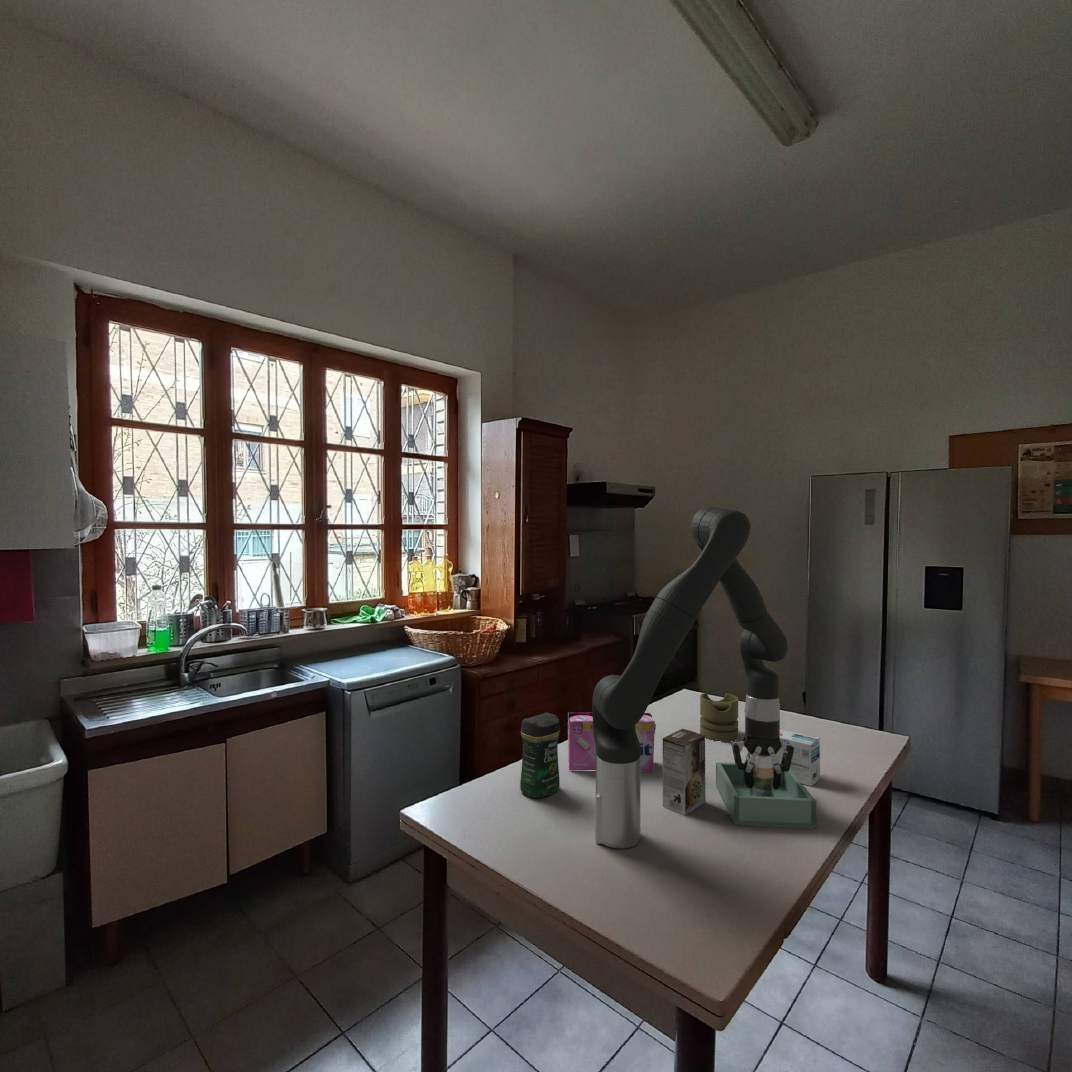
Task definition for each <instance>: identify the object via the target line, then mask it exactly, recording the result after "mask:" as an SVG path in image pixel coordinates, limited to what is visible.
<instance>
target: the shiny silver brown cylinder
mask: <svg viewBox="0 0 1072 1072" xmlns="http://www.w3.org/2000/svg"><path fill="white" fill-rule="evenodd" d="M751 756H752V755H751V754H750V758H751ZM751 773H752V788H750V796H763V797H774V765H773V756H770V755H759V756H756V755H755V764H753V768H752V770H751Z"/></svg>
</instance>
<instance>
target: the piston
mask: <svg viewBox="0 0 1072 1072" xmlns="http://www.w3.org/2000/svg"><path fill="white" fill-rule="evenodd" d="M699 700H700V701H699V703H700V704H699V707H700V708H699V710H700V711H699V712H700V713H699V714H700V717H699V728H700V729H699V734H702V735H705V738H706V739H705V740H707V739H709V740H708V741H711V740H713V741H712V742H716V741H721V742H720V743H731V742H730V741H735V740H736V741H737V740H738V739H739V720H738V719H739V697H738V696H737V695H734V694H731V693H727V692H726V693H725V695H724V696H723V698H722V699H720V700H713V699H711V698H710V697H709V695H708V692H703V693H701V694H700V695H699Z"/></svg>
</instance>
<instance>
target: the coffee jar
mask: <svg viewBox="0 0 1072 1072" xmlns="http://www.w3.org/2000/svg"><path fill="white" fill-rule="evenodd" d="M560 723H561V722H560V719H559V717H558V715H556V714H553V713H550V712H544V713H541V714H538V715H534V716H532V717H527V718H523V720H522V721H521V728H520V735H521V738H522V757H521V758H522V760H521V771H520V781H519V782H520V784H519V788H520V789H519V790H520V791H521V792H522V793H523V794H524V795H526V796H527V795H528V797H530V796H531V797H532V798H537V799H538V798H540V797H541V798H544V797H546V796H549V794H550V795H551V794H554V793H556V792H558V790H560V788H561V787H560V786H561V785H560V783H561V782H560V779H561V778H560V767H559V754H558V753H559V751H558V742H559V738H560V732H561V727H560V725H561V724H560Z"/></svg>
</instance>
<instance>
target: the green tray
mask: <svg viewBox="0 0 1072 1072" xmlns="http://www.w3.org/2000/svg"><path fill="white" fill-rule="evenodd" d="M743 779H744V771H743V770H739V769H738V767H737V766H736V764H735V762H717V761H716V762H715V786H716V789H717V791H718V793H719V796H720V797H721V800H722V801H723V803H724V805H725V807H726V810H727V812H728V814H729V816H730V818H731V821H732V823H733V824H734V826H756V827H774V828H775V827H777V828H778V827H779V828H796V829H801V828H802V829H817V799H815V798H814V796H813V795H812V793H810V792H809V790H808V789H807V788H806V787H805V784H802V783H801V782H800V781H799V779H798V778H797V777H796V776H795V775H794V773H793V772H792V771H791V770H789V771H788V772H786V771H784V772H782V773H781V777H780V787H778V790H775V789H774V797H763V796H750V788H748V787H747V786H746V785H745V783H744V781H743ZM797 827H798V828H797Z"/></svg>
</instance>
